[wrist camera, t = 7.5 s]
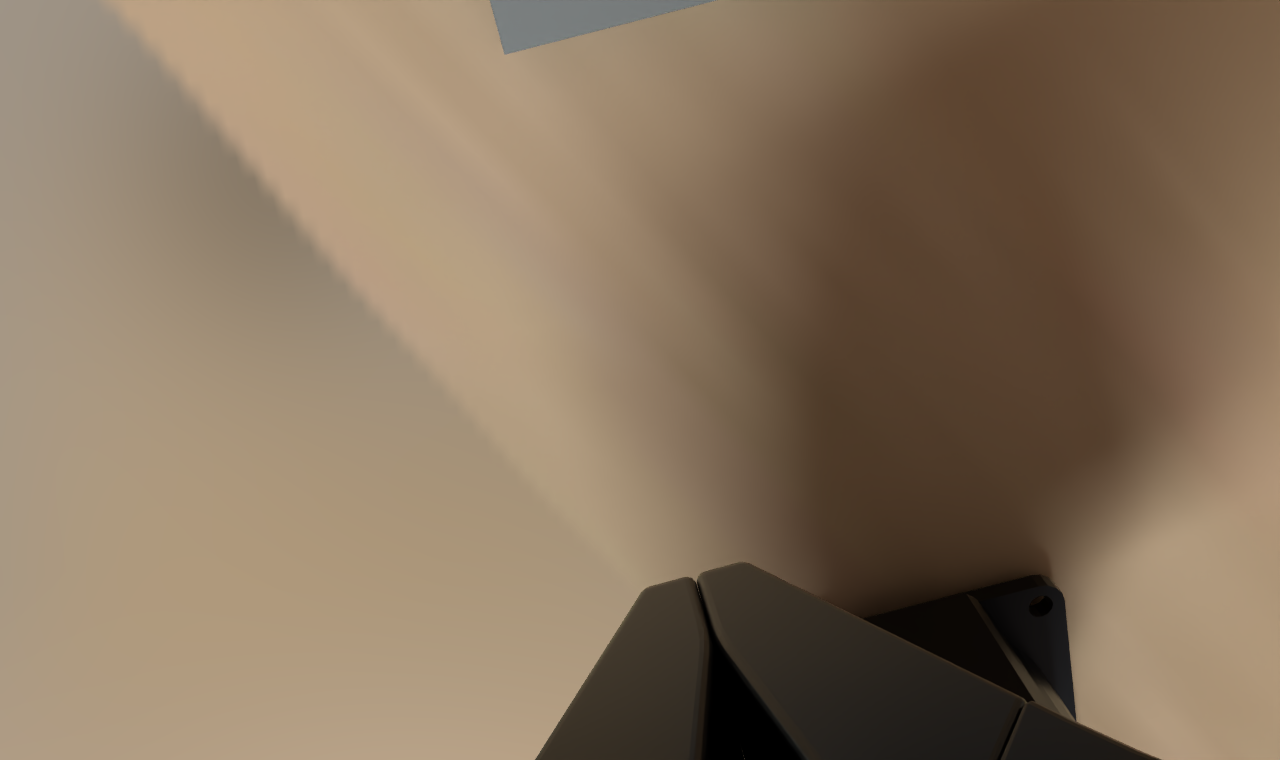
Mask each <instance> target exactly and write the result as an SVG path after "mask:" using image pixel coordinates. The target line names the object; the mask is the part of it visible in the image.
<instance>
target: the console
mask: <svg viewBox="0 0 1280 760" xmlns="http://www.w3.org/2000/svg"><path fill="white" fill-rule="evenodd" d="M712 1H716V0H490V3H491V7H492V10H493V14H494V18H495V21H496V25H497V28H498V32H499V36H500V39H501V43H502V47H503V50H504V54H509V53H513V52H517V51H521V50H525V49H528V48H532V47H536V46H540V45H544V44H548V43H552V42H556V41H560V40H564V39H567V38H571V37H575V36H579V35H583V34H587V33H591V32H595V31H599V30H603V29H606V28H610V27H614V26H618V25H622V24H626V23H630V22H634V21H638V20H642V19H645V18H649V17H653V16H657V15H661V14H665V13H669V12H673V11H677V10H681V9H685V8H688V7H692V6H696V5H700V4H704V3H708V2H712Z"/></svg>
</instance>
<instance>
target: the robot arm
mask: <svg viewBox="0 0 1280 760" xmlns="http://www.w3.org/2000/svg"><path fill="white" fill-rule="evenodd" d="M697 585H698V588H697ZM698 589H699V591H698ZM699 593H700V594H699ZM1039 596H1044V598H1043V599H1042V601H1041V602H1040V603H1038V604H1036V605H1031V606H1029V605H1030V603H1031V602H1032V600H1033V599H1035V598H1037V597H1039ZM700 597H701V598H700ZM743 755H744V756H743ZM744 759H745V760H1162V759H1159V758H1156V757H1154V756H1151V755H1149V754H1146V753H1144V752H1141V751H1139V750H1137V749H1135V748H1133V747H1130V746H1128V745H1126V744H1124V743H1122V742H1119V741H1117V740H1115V739H1113V738H1111V737H1108V736H1106V735H1104V734H1102V733H1100V732H1097V731H1095V730H1093V729H1091V728H1089V727H1086V726H1084V725H1082V724H1080V723H1078V722H1076V713H1075V702H1074V692H1073V682H1072V671H1071V661H1070V651H1069V640H1068V630H1067V620H1066V609H1065V600H1064V597H1063V594H1062V592H1061V591H1060V590H1059V588H1058V587H1057V586H1056V585H1055V583H1054V582H1053V581H1052V580H1051V579H1050V578H1048V577H1046V576H1042V575H1031V576H1027V577H1023V578H1019V579H1015V580H1012V581H1008V582H1004V583H1000V584H996V585H992V586H988V587H985V588H981V589H977V590H973V591H969V592H965V593H961V594H957V595H953V596H949V597H945V598H941V599H937V600H933V601H930V602H926V603H922V604H918V605H914V606H910V607H906V608H903V609H899V610H895V611H891V612H887V613H883V614H879V615H875V616H872V617H868V618H864V619H861V618H859V617H857V616H855V615H853V614H851V613H849V612H847V611H845V610H843V609H841V608H839V607H837V606H835V605H833V604H831V603H829V602H827V601H825V600H823V599H821V598H819V597H817V596H815V595H813V594H811V593H808V592H806V591H804V590H802V589H800V588H798V587H796V586H794V585H792V584H790V583H788V582H786V581H784V580H782V579H780V578H778V577H776V576H774V575H772V574H770V573H768V572H766V571H764V570H762V569H760V568H758V567H756V566H754V565H752V564H749V563H745V562H738V563H735V564H731V565H727V566H724V567H720V568H717V569H713V570H709V571H706V572H703V573H701V574H700V575H699V576H698V579H697V584H696V582H695V581H694V580H693V579H692V578H689V577H683V578H680V579H676V580H672V581H668V582H665V583H661V584H657V585H653V586H650V587H647V588H646V589H645V590H644V591H642V592H641V594H640V595H639V597H638V598H637V600H636V602H635V603H634V605H633V606H632V608H631V610H630V611H629V613H628V614H627V616H626V617H625V619H624V621H623V622H622V624H621V625H620V627H619V628H618V630H617V632H616V633H615V635H614V636H613V638H612V640H611V641H610V643H609V644H608V646H607V647H606V649H605V651H604V652H603V654H602V655H601V657H600V659H599V660H598V662H597V663H596V665H595V666H594V668H593V669H592V671H591V673H590V674H589V676H588V677H587V679H586V680H585V682H584V684H583V685H582V687H581V688H580V690H579V691H578V693H577V695H576V696H575V698H574V700H573V701H572V703H571V704H570V706H569V707H568V709H567V710H566V712H565V714H564V715H563V717H562V718H561V720H560V722H559V723H558V725H557V726H556V728H555V729H554V731H553V733H552V734H551V736H550V737H549V739H548V740H547V742H546V744H545V745H544V747H543V748H542V750H541V751H540V753H539V755H538V756H537V758H536V759H535V760H744Z"/></svg>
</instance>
